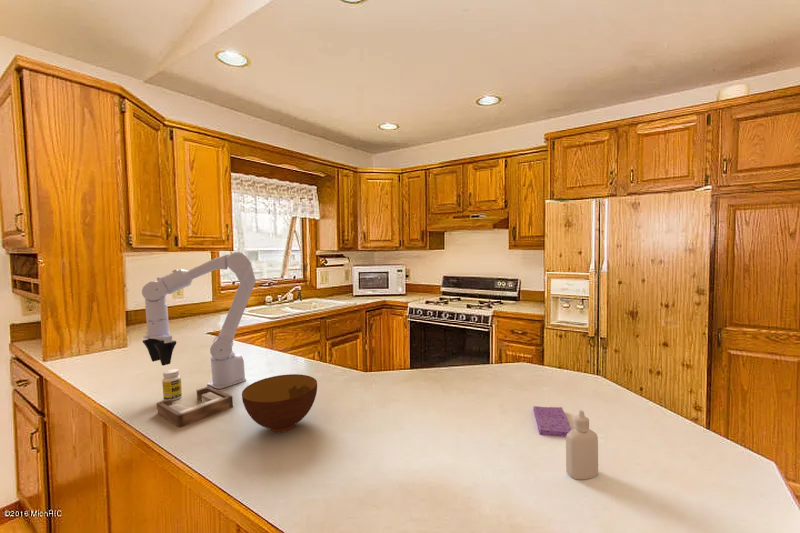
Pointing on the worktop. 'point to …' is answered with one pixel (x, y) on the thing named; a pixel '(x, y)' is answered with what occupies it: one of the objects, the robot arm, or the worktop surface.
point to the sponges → (551, 421)
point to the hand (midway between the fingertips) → (161, 362)
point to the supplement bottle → (171, 385)
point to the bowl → (280, 400)
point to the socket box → (195, 407)
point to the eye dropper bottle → (581, 449)
